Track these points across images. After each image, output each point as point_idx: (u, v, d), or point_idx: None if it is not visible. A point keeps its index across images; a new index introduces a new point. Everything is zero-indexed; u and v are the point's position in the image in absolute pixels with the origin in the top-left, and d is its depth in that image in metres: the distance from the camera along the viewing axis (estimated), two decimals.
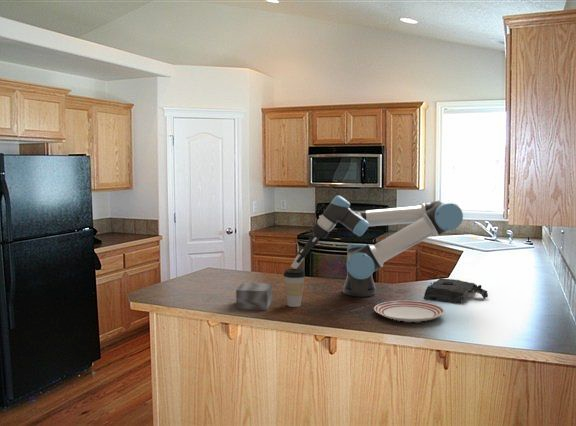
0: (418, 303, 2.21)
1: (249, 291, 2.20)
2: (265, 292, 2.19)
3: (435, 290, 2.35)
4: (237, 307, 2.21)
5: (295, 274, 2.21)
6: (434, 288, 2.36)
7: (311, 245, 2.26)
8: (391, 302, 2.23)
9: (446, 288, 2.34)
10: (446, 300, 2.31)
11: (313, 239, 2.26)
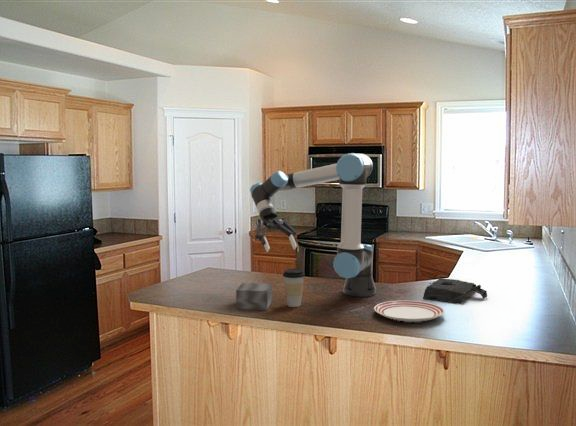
0: (418, 303, 2.21)
1: (249, 291, 2.20)
2: (265, 292, 2.19)
3: (434, 290, 2.35)
4: (237, 307, 2.21)
5: (294, 274, 2.21)
6: (433, 288, 2.36)
7: (257, 226, 2.36)
8: (391, 302, 2.23)
9: (445, 288, 2.34)
10: (445, 300, 2.31)
11: (257, 223, 2.39)
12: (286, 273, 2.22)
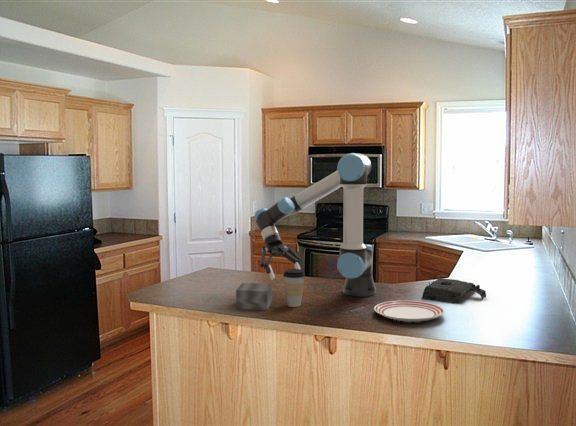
0: (418, 303, 2.21)
1: (249, 291, 2.20)
2: (265, 292, 2.19)
3: (433, 290, 2.35)
4: (237, 307, 2.21)
5: (295, 274, 2.21)
6: (432, 288, 2.36)
7: (262, 254, 2.32)
8: (391, 302, 2.23)
9: (444, 288, 2.34)
10: (444, 300, 2.31)
11: (261, 250, 2.34)
12: (287, 273, 2.22)
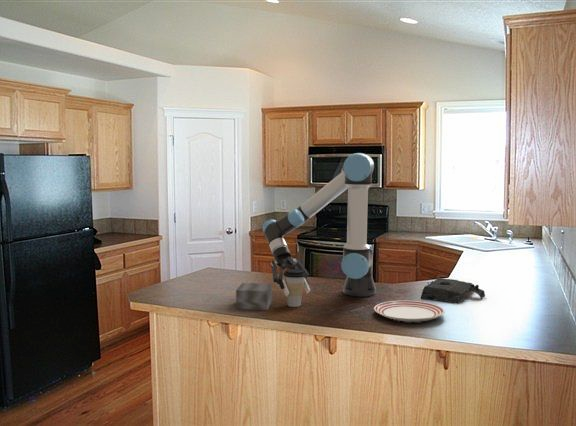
0: (418, 303, 2.21)
1: (249, 291, 2.20)
2: (265, 292, 2.19)
3: (432, 290, 2.35)
4: (237, 307, 2.21)
5: (295, 274, 2.21)
6: (431, 288, 2.36)
7: (273, 269, 2.27)
8: (391, 302, 2.23)
9: (443, 288, 2.35)
10: (443, 300, 2.31)
11: (271, 264, 2.29)
12: (287, 273, 2.22)
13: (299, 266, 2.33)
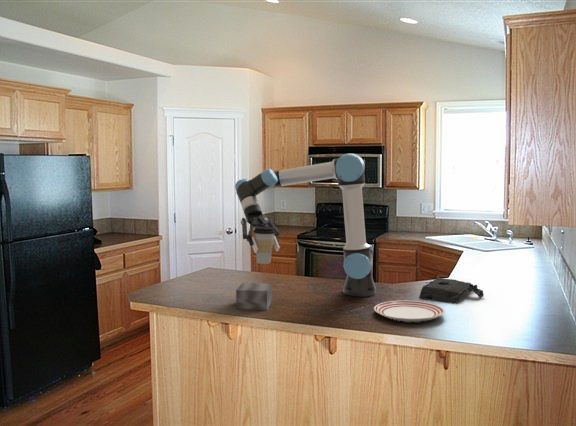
0: (418, 303, 2.21)
1: (249, 291, 2.20)
2: (265, 292, 2.19)
3: (430, 289, 2.36)
4: (237, 307, 2.21)
5: (264, 230, 2.20)
6: (430, 287, 2.37)
7: (243, 226, 2.25)
8: (391, 302, 2.23)
9: (441, 288, 2.35)
10: (441, 299, 2.31)
11: (241, 222, 2.27)
12: (256, 229, 2.21)
13: (270, 225, 2.31)
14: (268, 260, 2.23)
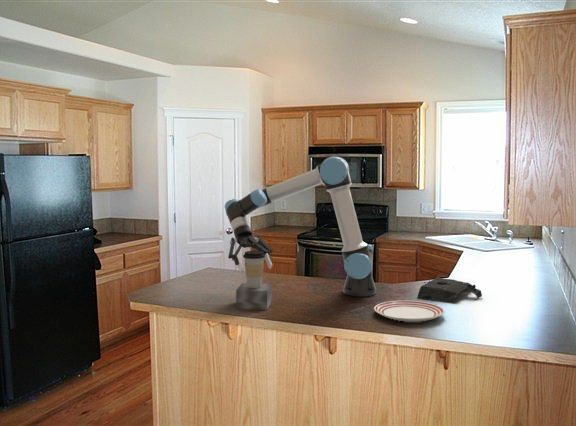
0: (418, 303, 2.21)
1: (249, 291, 2.20)
2: (265, 292, 2.19)
3: (429, 289, 2.36)
4: (237, 307, 2.21)
5: (254, 255, 2.20)
6: (428, 287, 2.37)
7: (231, 245, 2.26)
8: (391, 302, 2.23)
9: (440, 287, 2.35)
10: (439, 299, 2.32)
11: (230, 241, 2.28)
12: (246, 254, 2.22)
13: (261, 243, 2.33)
14: (259, 284, 2.23)
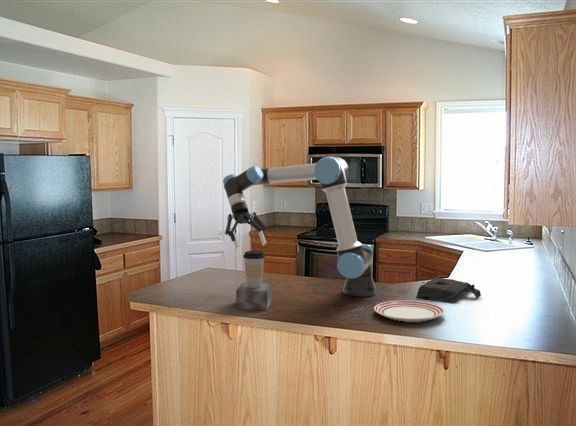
0: (418, 303, 2.21)
1: (249, 291, 2.20)
2: (265, 292, 2.19)
3: (427, 289, 2.36)
4: (237, 307, 2.21)
5: (254, 255, 2.20)
6: (427, 287, 2.37)
7: (228, 221, 2.38)
8: (391, 302, 2.23)
9: (438, 287, 2.35)
10: (438, 299, 2.32)
11: (228, 217, 2.40)
12: (246, 254, 2.22)
13: (256, 220, 2.45)
14: (259, 284, 2.23)
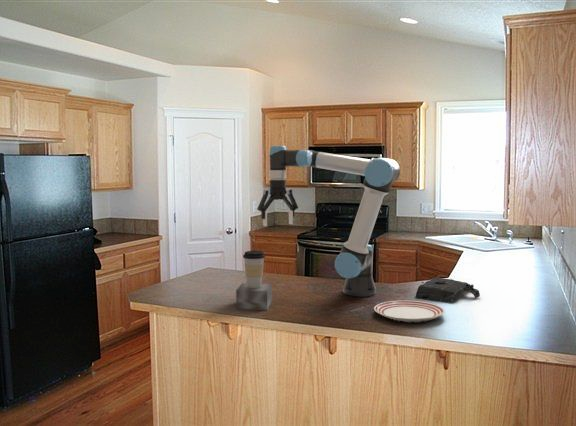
0: (418, 303, 2.21)
1: (249, 291, 2.20)
2: (265, 292, 2.19)
3: (426, 289, 2.36)
4: (237, 307, 2.21)
5: (254, 255, 2.20)
6: (426, 287, 2.38)
7: (263, 198, 2.41)
8: (391, 302, 2.23)
9: (437, 287, 2.36)
10: (437, 299, 2.32)
11: (264, 192, 2.42)
12: (246, 254, 2.22)
13: (290, 198, 2.48)
14: (259, 284, 2.23)
